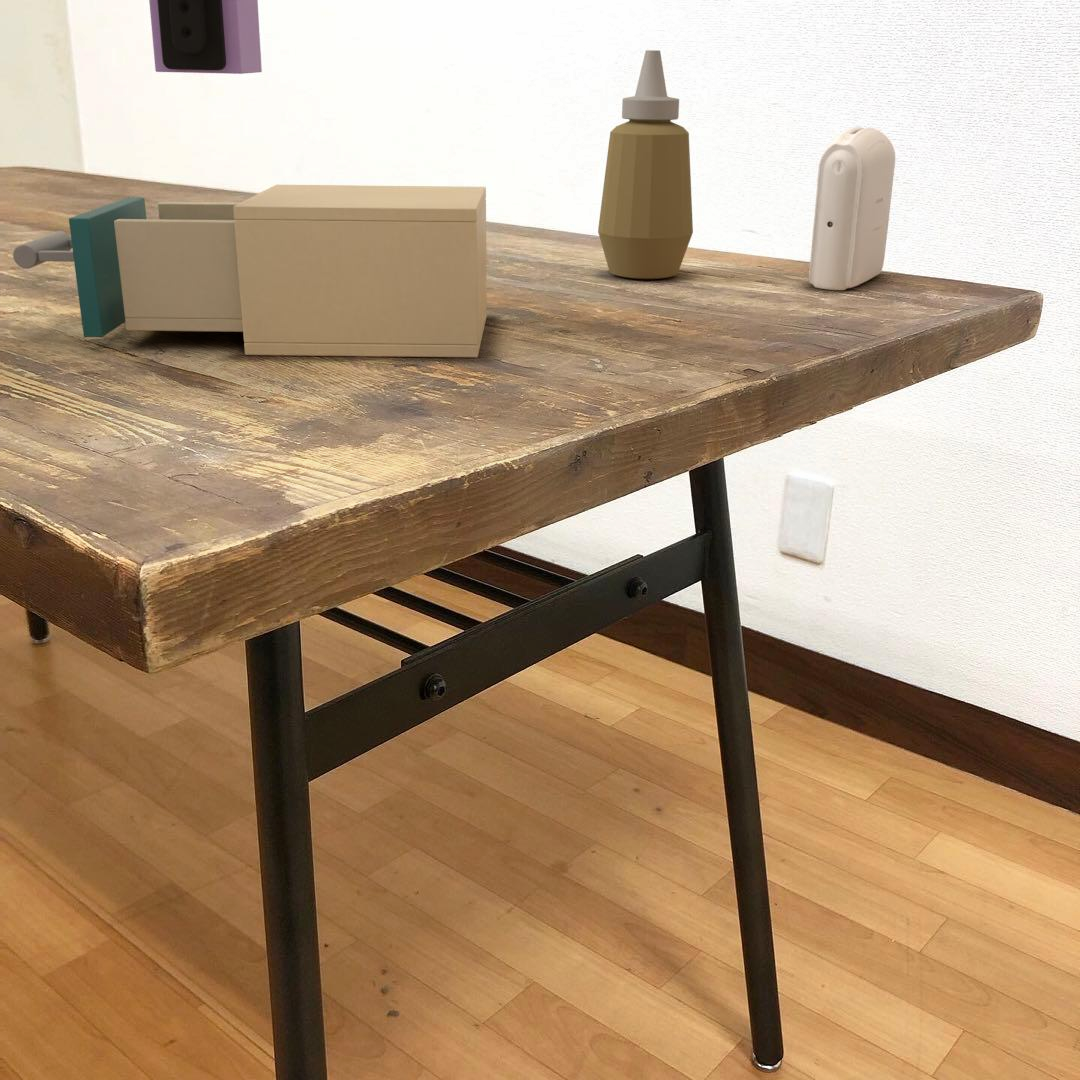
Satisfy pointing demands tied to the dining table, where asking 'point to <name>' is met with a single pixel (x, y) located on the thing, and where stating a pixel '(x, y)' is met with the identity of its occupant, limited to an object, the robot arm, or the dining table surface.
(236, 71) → the lavender foam cube
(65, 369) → the dining table surface
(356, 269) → the drawer cabinet
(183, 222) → the drawer
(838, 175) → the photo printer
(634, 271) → the squeeze bottle
